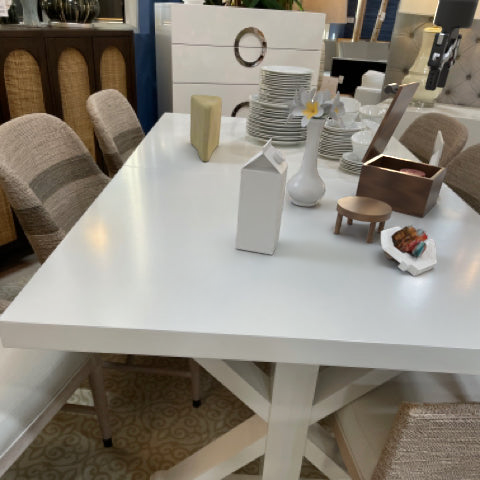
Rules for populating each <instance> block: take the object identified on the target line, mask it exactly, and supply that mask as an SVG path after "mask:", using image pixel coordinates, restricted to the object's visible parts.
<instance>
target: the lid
mask: <svg viewBox="0 0 480 480" xmlns="http://www.w3.org/2000/svg"><path fill="white" fill-rule="evenodd" d="M420 85H421V82H419V81H414V82H410V83H406V84H402V85H399V84H398V83H391V84H386V85H385V86H384V87H383V88H384V89H383V92H384V93H385V94H387V95H388V94H392V95H394V97H393V98H392V101H391V102H390V104H389V106H388V108H387V109H386V112H385V114H384V115H383V118H382V120H381V122H380V123H379V126H378V127H377V130H376V132H375V133H374V136H373V137H372V140H371V141H370V143H369V145H368V147H367V149H366V151H365V153H364V155H363V157H362V159H361V163H363V164H364V163H366V162H368V161H370V160H372V159H373V158H375V157H377V156H379V155H381V154H382V155H383V153H384V152H385V150H386V148H387V146H388V144H389V142H390V141H391V138H392V137H393V135H394V133H395V131H396V129H397V127H398V126H399V124H400V122H401V120H402V118H403V116H404V115H405V113H406V111H407V108H408V107H409V106H410V103H411V101H412V99H413V98H414V96H415V94H416V92H417V90H418V88H419V86H420Z"/></svg>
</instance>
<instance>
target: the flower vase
mask: <svg viewBox="0 0 480 480" xmlns="http://www.w3.org/2000/svg"><path fill="white" fill-rule="evenodd" d="M316 92H317V87H314V88H311V90H309V92H307V89H306V87H304V86H301V87H300V88H299V89H298V90H297V88H295V92H294V96H293V100H291V101H290V102H288V103H287V107H286V108H289V110H288V112H289V113H288V115H287V118H286V122H285V124H284V126H287V125H288V124H289V123H290V121H291V120H293V119H294V118H296V117H302V118H301V121H300V126H301V127H302V128H305V127H306V140H305V147H304V150H303V151H304V152H303V157H302V161H301V163H300V167H299V168H298V170H297V172H296V173H295V174H294V175H292V176H291V177H290V178H289V179H288V181H287V182H286V185H285V192H286V194H287V195H288V196H289V197H290V201H291V203H292V204H294V205H295V206H299V207H305V208H310V207H315V206H316V205H317V203H318V201H319V200H321V199H322V198H323V197H324V196H325V194H326V190H327V189H326V184H325V182H324V180H323V179H322V177H321V176H320V174H319V169H318V158H319V157H318V156H319V149H320V148H319V146H320V141H321V136H322V132H323V129H324V127H325V125H326V122H327V117H329V118H331V119H333V120H334V121H337V122H338V123H339V125H340V126H341V127H342V128H343V129H346V125H345V122H344V119H343V118H342V117H343V116H344V115H345V114H346V108H345V107H344V106H345V103H344V102H343V101H341V95H340V91H339V90H337V92H336V95H334V96H333V99H332V93H331V91H330V89H327V88H326V89H325V90H324V91H322V90H320V91H318V92H317V93H316Z"/></svg>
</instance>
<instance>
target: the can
mask: <svg viewBox="0 0 480 480" xmlns="http://www.w3.org/2000/svg"><path fill="white" fill-rule="evenodd" d="M399 172H403V173H407V174H412V175H416V176H421V177H425V173H424V172H422V171H419V170H414V169H401V170H400V171H399Z"/></svg>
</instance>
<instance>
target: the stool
mask: <svg viewBox="0 0 480 480" xmlns="http://www.w3.org/2000/svg"><path fill="white" fill-rule="evenodd" d="M336 204H337V205H336V208H335V209H336V211H337V214H336V220H335V226H334V229H333V230H334V231H333V233H334V234H335V235H340V234H341V229H342V224H343V220H344V219H343V218H344V217H345V218H347V219H346V225H349V226H350V225H353V221H357V222H363V223H369V226H368V230H367V236H366V239H365V243H366V244H368V245H370V244H373V240H374V235H375V231H376V227H377V224H378V227H377V231H376V233H378V234H381V231H383V230H385V226H386V222H387V221H389V220H390V219H391V216H392V214H393V213H392V212H393V211H392V208H391V207H390V206H389V205H388V204H386V203H384V202H382V201H379V200H376V199H372V198H367V197H359V196H356V195H355V196H354V195H351V196H344V197H341V198H339V199H338V200H337V203H336Z"/></svg>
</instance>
